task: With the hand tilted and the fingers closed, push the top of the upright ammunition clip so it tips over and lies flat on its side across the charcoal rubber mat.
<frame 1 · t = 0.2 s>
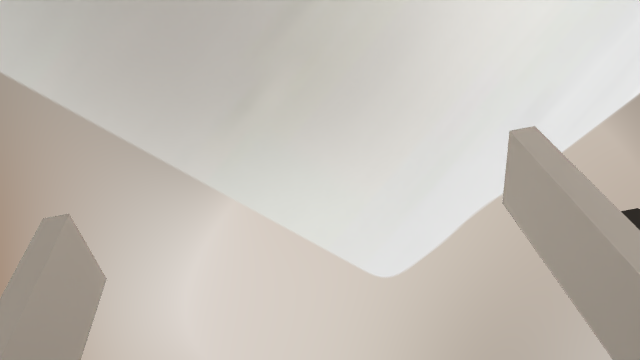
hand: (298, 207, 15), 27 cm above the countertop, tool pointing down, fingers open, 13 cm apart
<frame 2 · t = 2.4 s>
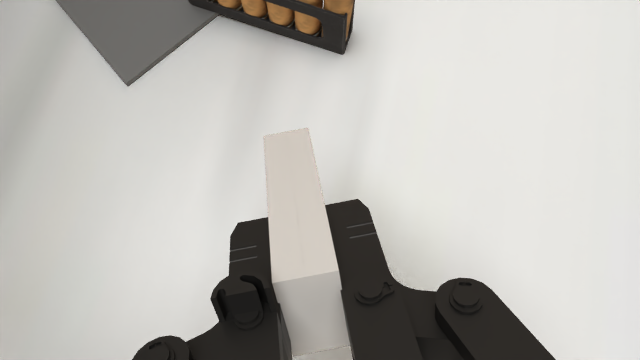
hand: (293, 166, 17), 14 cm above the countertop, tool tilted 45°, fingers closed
ammunition clip: (270, 18, 32), on the countertop, touching rubber mat
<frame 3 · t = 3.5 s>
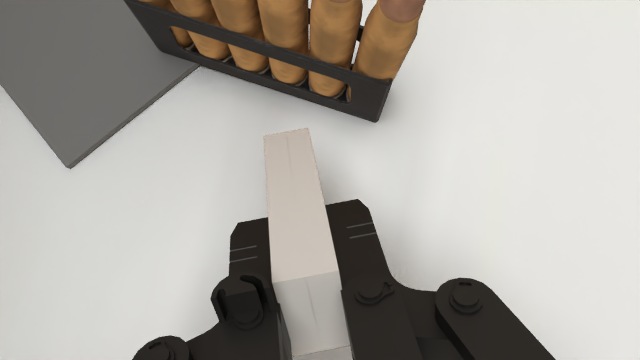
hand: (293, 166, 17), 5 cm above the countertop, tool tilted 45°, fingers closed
ammunition clip: (273, 69, 23), on the countertop, touching rubber mat
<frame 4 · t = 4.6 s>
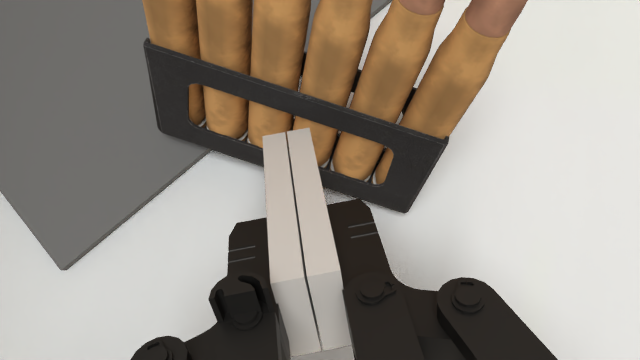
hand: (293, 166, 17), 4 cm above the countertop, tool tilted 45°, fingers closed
ammunition clip: (288, 157, 20), on the countertop, touching rubber mat
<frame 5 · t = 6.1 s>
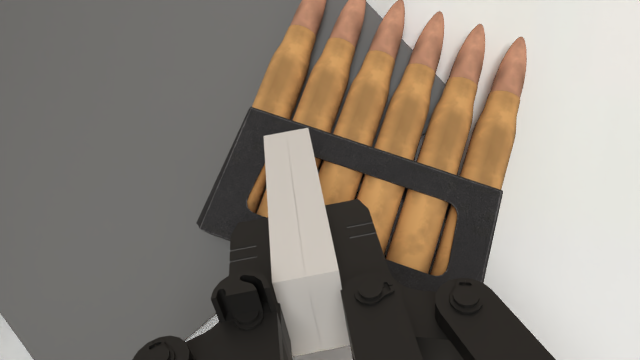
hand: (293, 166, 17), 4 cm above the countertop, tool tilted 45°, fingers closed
rubber mat: (150, 98, 21), on the countertop
ammunition clip: (329, 281, 18), point 2 cm above the countertop, touching rubber mat
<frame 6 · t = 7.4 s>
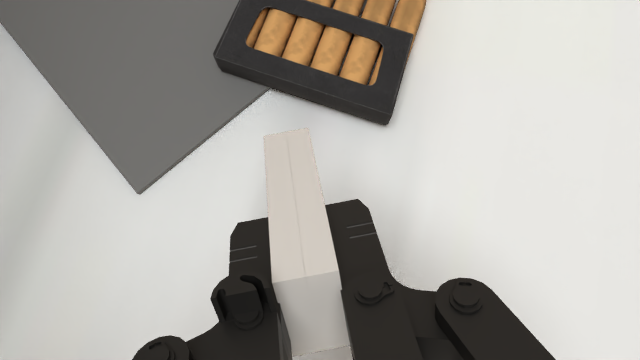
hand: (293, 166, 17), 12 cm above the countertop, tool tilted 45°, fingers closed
ammunition clip: (299, 94, 28), point 2 cm above the countertop, touching rubber mat
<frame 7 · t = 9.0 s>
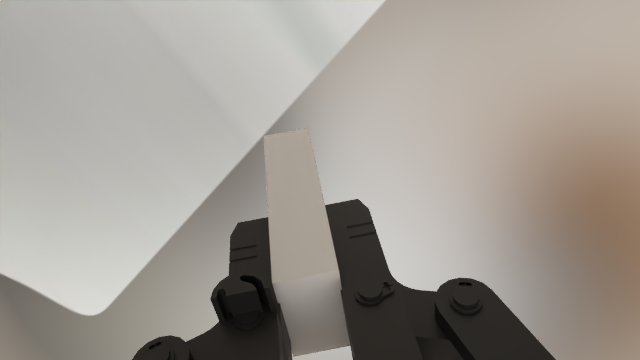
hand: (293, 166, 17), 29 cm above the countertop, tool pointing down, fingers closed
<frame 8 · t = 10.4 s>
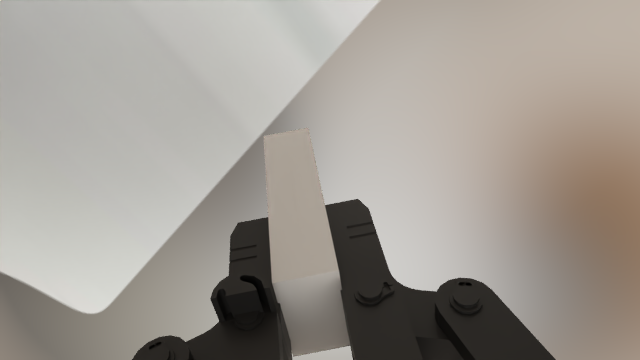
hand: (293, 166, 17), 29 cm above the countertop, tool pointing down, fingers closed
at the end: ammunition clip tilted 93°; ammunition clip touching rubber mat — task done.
